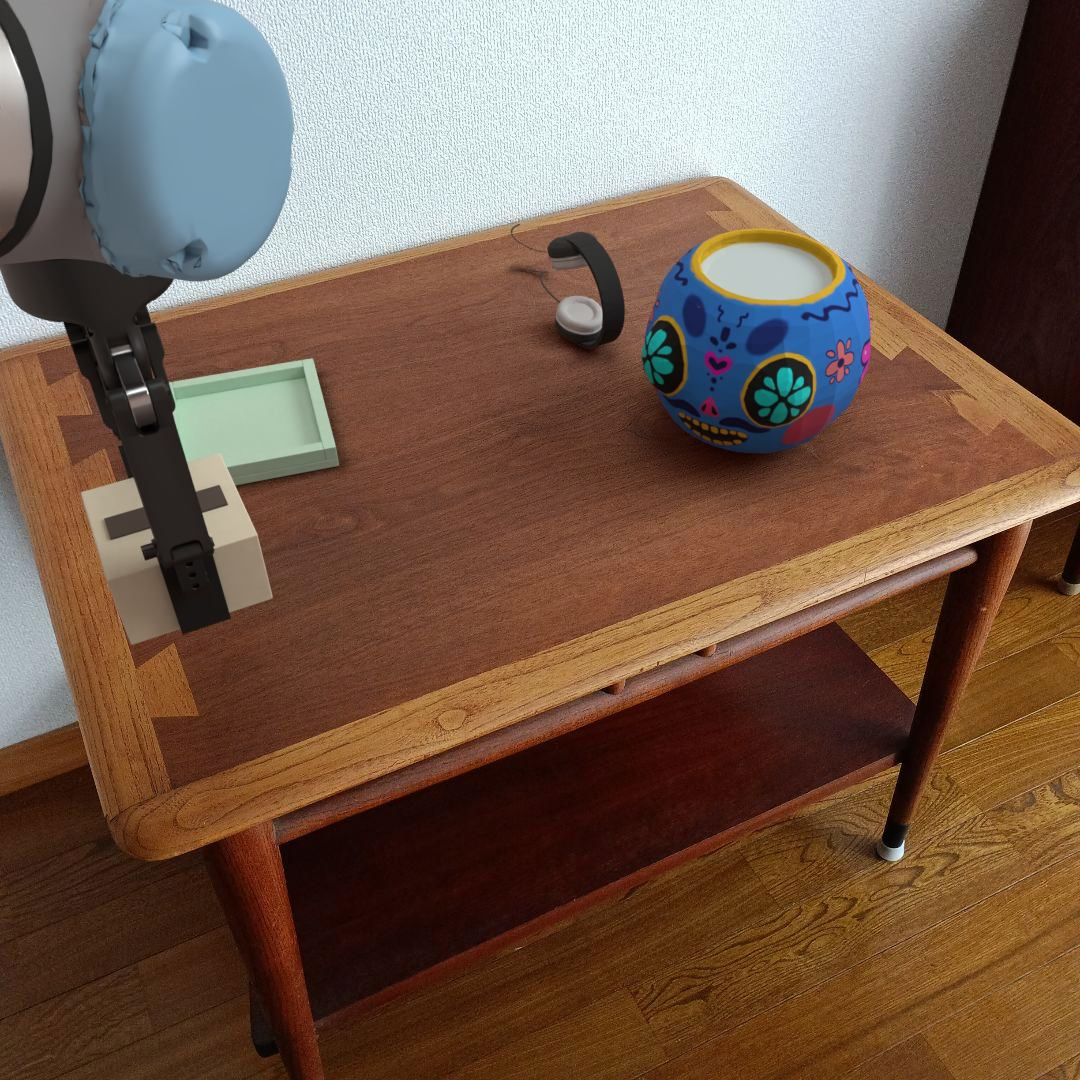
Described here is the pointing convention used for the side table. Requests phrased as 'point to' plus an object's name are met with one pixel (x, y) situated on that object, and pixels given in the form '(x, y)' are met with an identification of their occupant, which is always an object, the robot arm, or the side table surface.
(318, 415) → the shallow tray
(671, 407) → the ceramic pot
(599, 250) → the headphones
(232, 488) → the beige block
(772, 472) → the side table surface
